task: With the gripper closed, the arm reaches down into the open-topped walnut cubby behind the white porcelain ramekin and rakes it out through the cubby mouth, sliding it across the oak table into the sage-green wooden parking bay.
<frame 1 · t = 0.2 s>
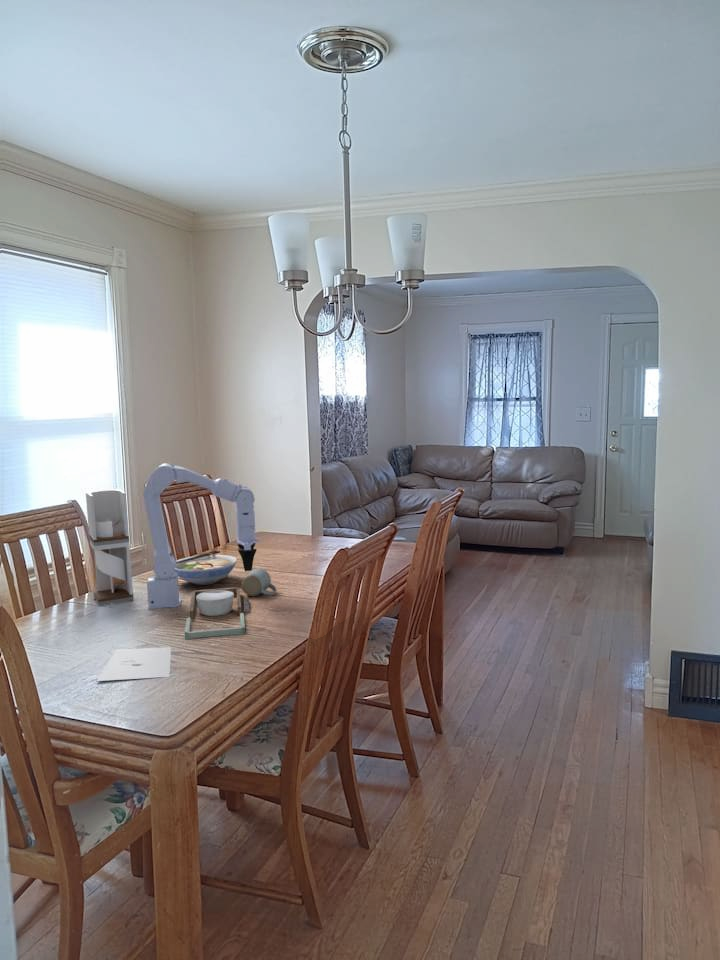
hand: (247, 567, 230), 10 cm above the table, fingers open, 7 cm apart
display case: (113, 599, 235), on the table
sage bay: (215, 627, 202), on the table
ramekin: (216, 612, 218), on the table
grey metal bar: (246, 608, 221), on the table
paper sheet: (164, 664, 177), on the table
walnut cubby: (216, 606, 223), on the table
ramen bowl: (205, 583, 252), on the table
ceramic mug: (260, 594, 236), on the table
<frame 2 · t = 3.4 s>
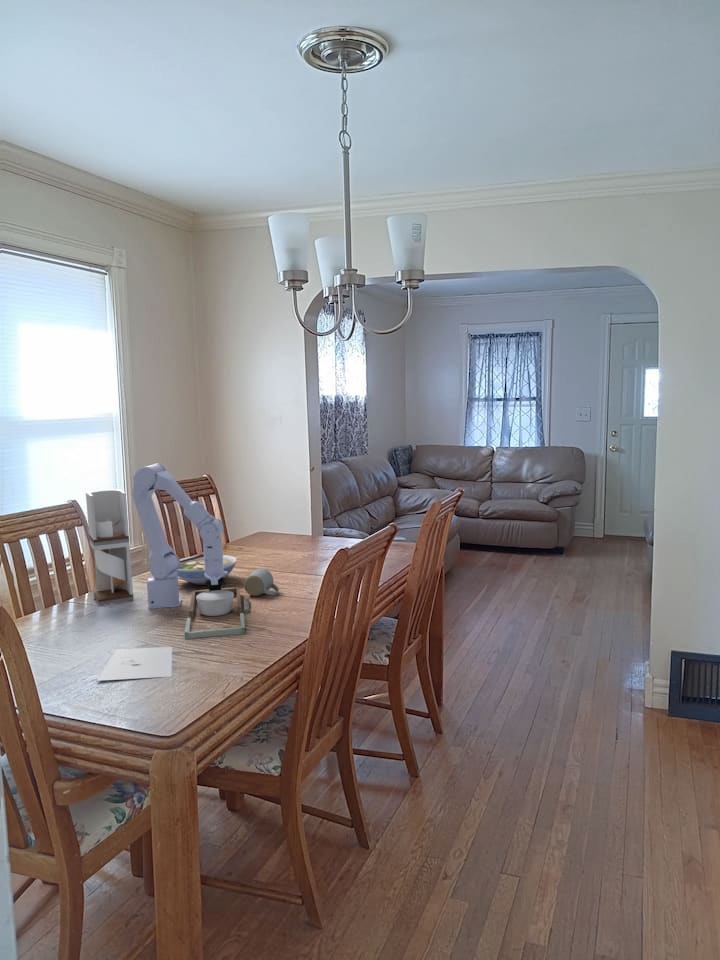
hand: (216, 601, 224), 1 cm above the table, fingers closed
ramekin: (216, 612, 217), on the table, touching gripper
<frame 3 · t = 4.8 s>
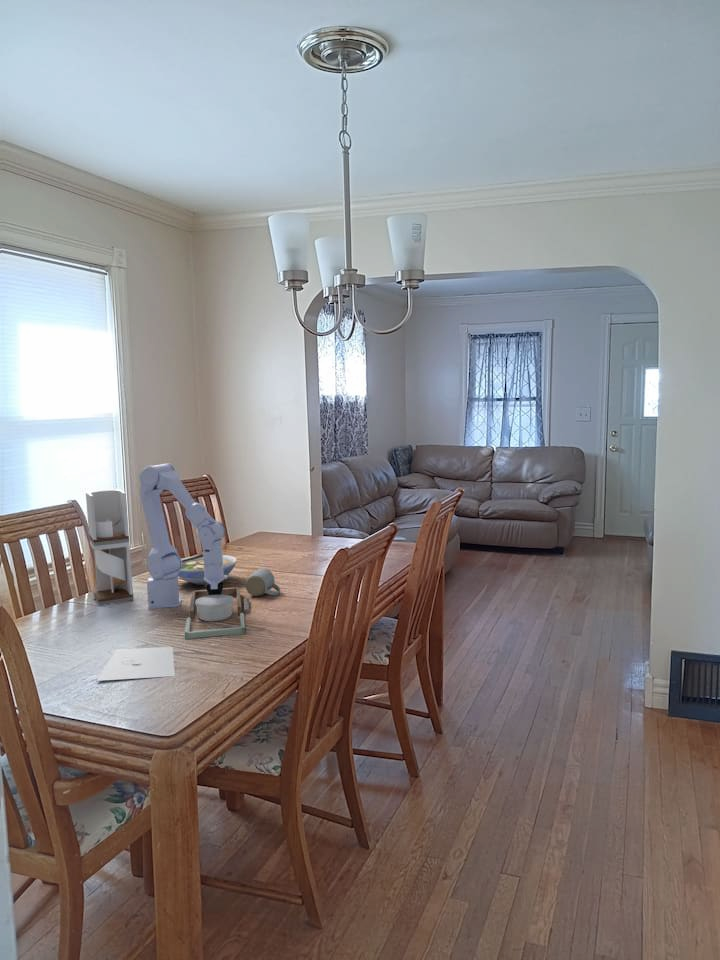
hand: (215, 606, 219), 1 cm above the table, fingers closed
ramekin: (215, 617, 212), on the table, touching gripper
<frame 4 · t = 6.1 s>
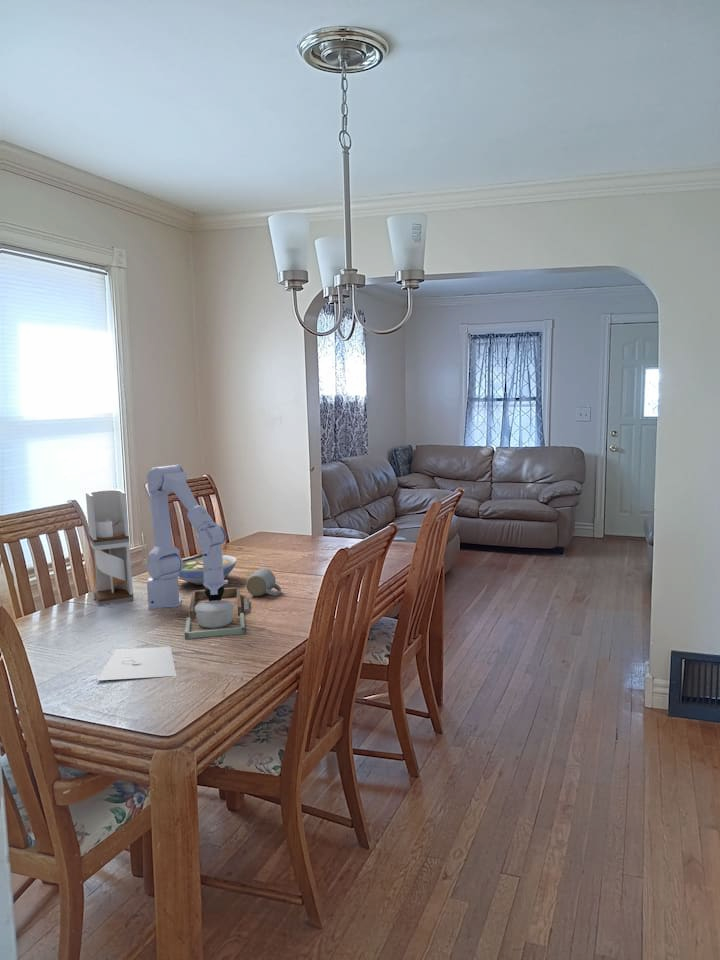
hand: (215, 612, 213), 1 cm above the table, fingers closed
ramekin: (215, 623, 206), on the table, touching gripper
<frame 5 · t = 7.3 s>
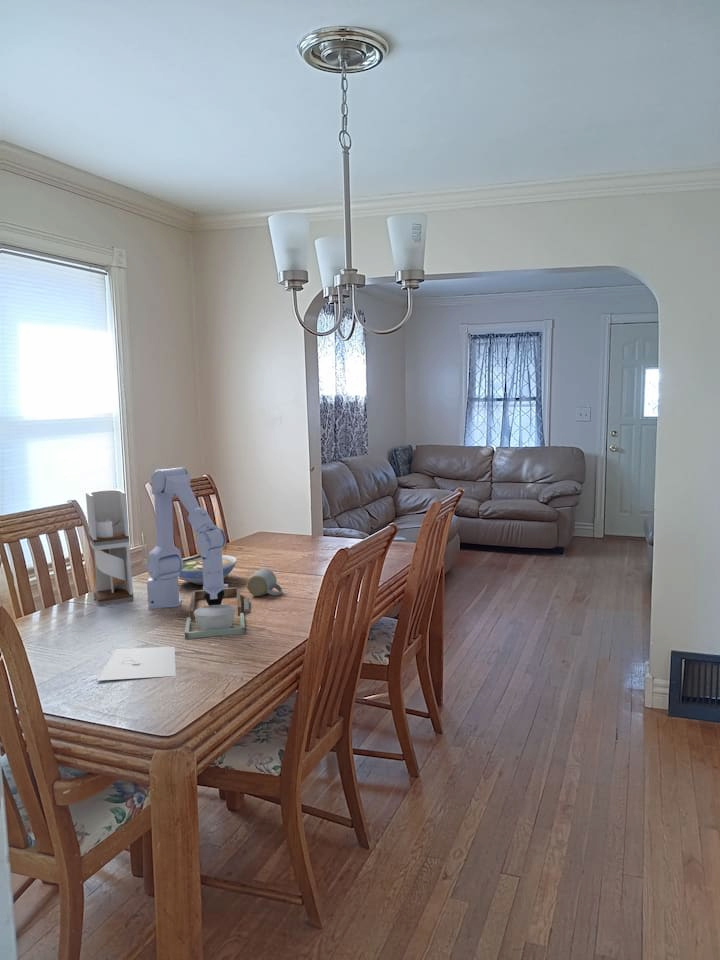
hand: (215, 616, 209), 1 cm above the table, fingers closed
ramekin: (215, 628, 202), on the table, touching gripper
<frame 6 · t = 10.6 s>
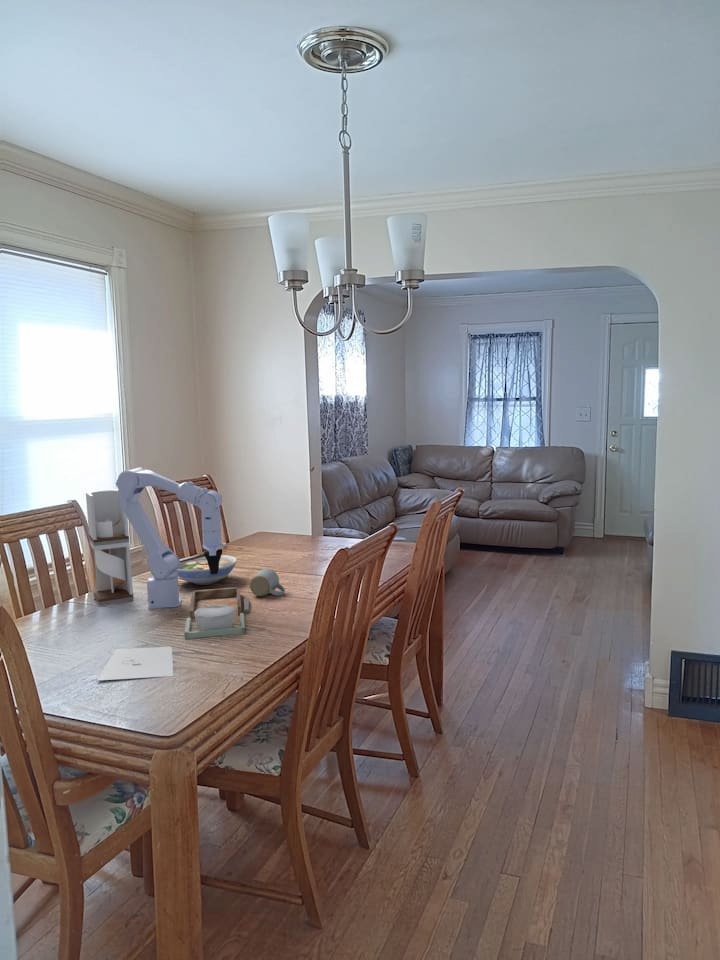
hand: (214, 573, 223), 10 cm above the table, fingers closed
ramekin: (215, 629, 202), on the table
at the end: ramekin inside the target area (0.4 cm from its centre), on the table; ramekin tilted 0°; ramekin moved 16.2 cm from its start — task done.
